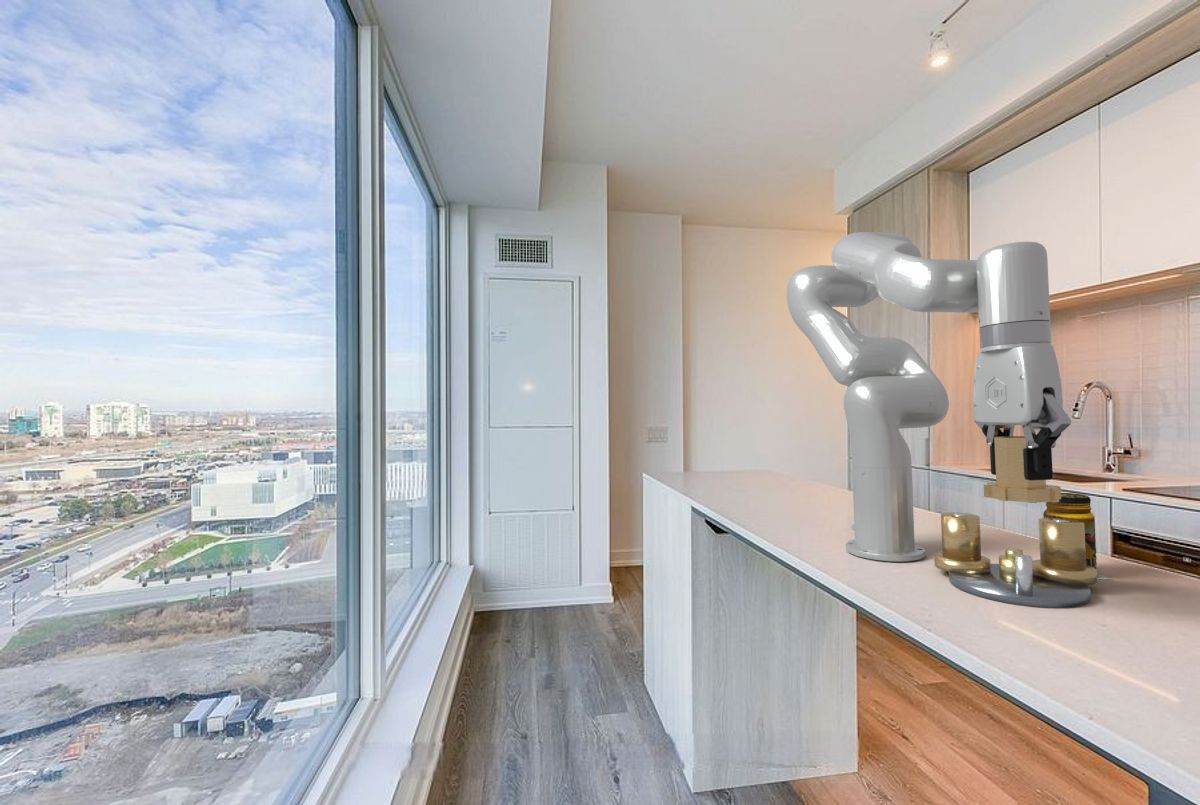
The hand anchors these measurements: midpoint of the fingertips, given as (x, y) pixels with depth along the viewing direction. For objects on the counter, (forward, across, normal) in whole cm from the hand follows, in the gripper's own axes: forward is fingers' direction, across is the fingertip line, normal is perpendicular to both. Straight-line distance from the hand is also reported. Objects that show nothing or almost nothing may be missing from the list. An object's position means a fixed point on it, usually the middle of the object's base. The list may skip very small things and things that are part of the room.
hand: (1020, 475), depth 72 cm
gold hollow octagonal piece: (+3, 0, 0) cm, 3 cm away
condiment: (+17, -13, +16) cm, 27 cm away
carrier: (+17, -7, +5) cm, 19 cm away
